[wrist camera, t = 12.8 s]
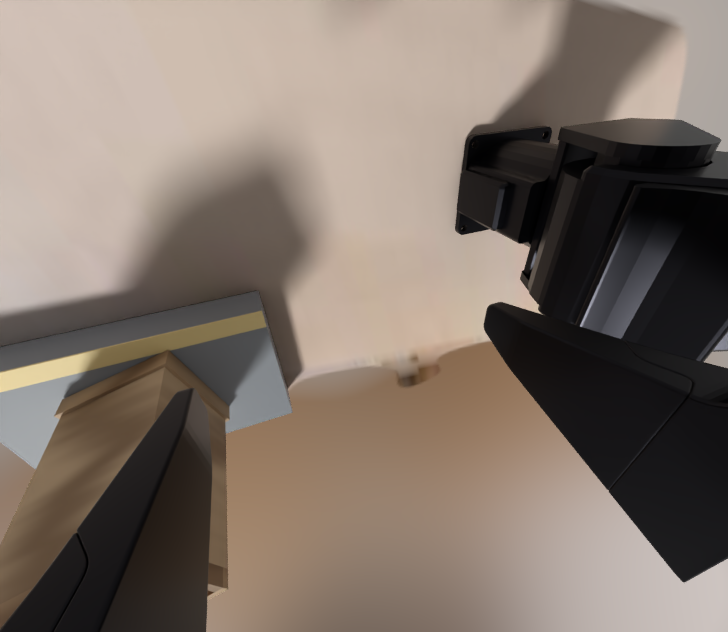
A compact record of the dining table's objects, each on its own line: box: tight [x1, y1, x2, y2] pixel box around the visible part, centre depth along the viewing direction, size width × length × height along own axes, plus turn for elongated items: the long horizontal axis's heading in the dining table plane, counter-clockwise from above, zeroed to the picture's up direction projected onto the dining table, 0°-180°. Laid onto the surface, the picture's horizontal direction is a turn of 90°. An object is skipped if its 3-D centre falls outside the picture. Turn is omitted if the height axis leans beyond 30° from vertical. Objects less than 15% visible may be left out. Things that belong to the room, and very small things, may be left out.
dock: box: [0, 291, 292, 469], centre depth 22 cm, size 16×10×3 cm, turn 94°
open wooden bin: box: [0, 350, 230, 628], centre depth 17 cm, size 6×6×11 cm
